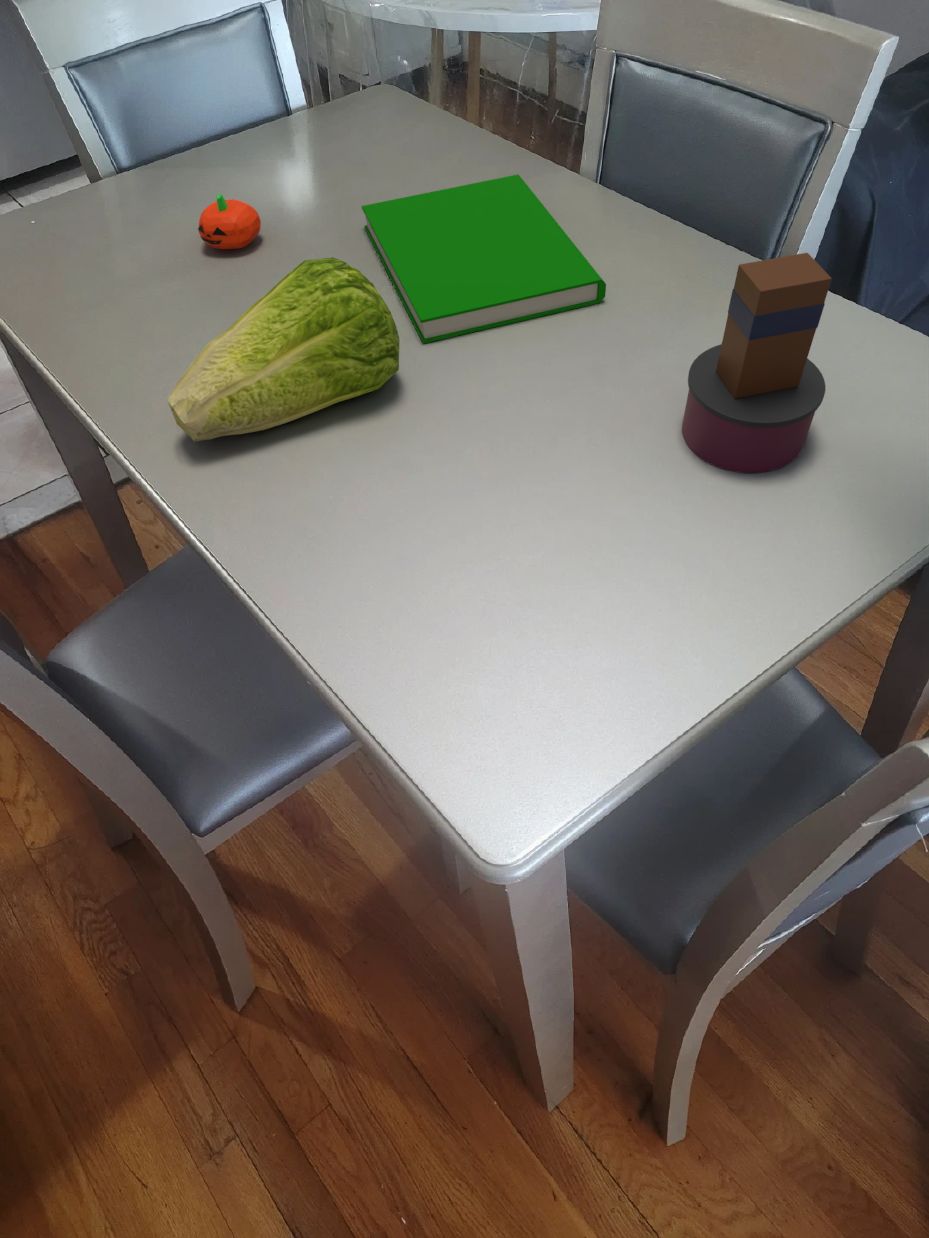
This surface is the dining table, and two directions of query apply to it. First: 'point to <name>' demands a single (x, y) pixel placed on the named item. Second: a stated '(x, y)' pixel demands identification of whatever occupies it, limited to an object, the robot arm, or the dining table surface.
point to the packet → (771, 324)
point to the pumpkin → (228, 224)
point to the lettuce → (290, 354)
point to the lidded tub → (748, 419)
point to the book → (479, 258)
